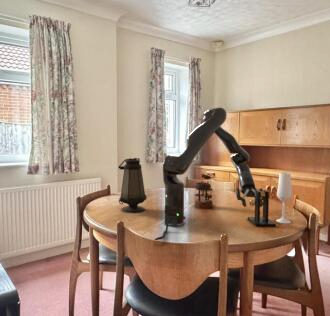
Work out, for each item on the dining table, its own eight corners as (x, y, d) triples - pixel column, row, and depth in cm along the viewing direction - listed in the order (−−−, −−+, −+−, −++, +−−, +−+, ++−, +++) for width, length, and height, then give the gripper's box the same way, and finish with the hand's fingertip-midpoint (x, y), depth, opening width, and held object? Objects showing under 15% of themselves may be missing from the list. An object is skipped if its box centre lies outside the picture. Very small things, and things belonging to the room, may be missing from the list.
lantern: (128, 215, 159) (127, 159, 157) (112, 209, 171) (112, 158, 169) (153, 209, 171) (153, 157, 168) (137, 204, 183) (137, 156, 180)
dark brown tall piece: (204, 203, 186) (206, 171, 183) (217, 207, 177) (220, 175, 174) (186, 206, 178) (188, 173, 175) (199, 211, 169) (202, 177, 166)
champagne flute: (272, 220, 148) (274, 172, 146) (283, 218, 150) (284, 172, 148) (283, 224, 142) (285, 174, 140) (294, 222, 144) (296, 173, 142)
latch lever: (248, 206, 156) (248, 201, 158) (255, 206, 156) (254, 200, 157) (260, 196, 141) (258, 190, 142) (266, 196, 141) (265, 190, 142)
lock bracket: (247, 219, 150) (248, 188, 149) (265, 219, 150) (266, 188, 148) (256, 226, 138) (257, 193, 137) (275, 226, 138) (276, 193, 137)
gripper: (234, 176, 162) (241, 202, 151) (261, 176, 162) (269, 202, 151) (232, 184, 168) (237, 210, 157) (257, 184, 167) (264, 209, 157)
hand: (253, 206), depth 154 cm, fingers open, 8 cm apart
